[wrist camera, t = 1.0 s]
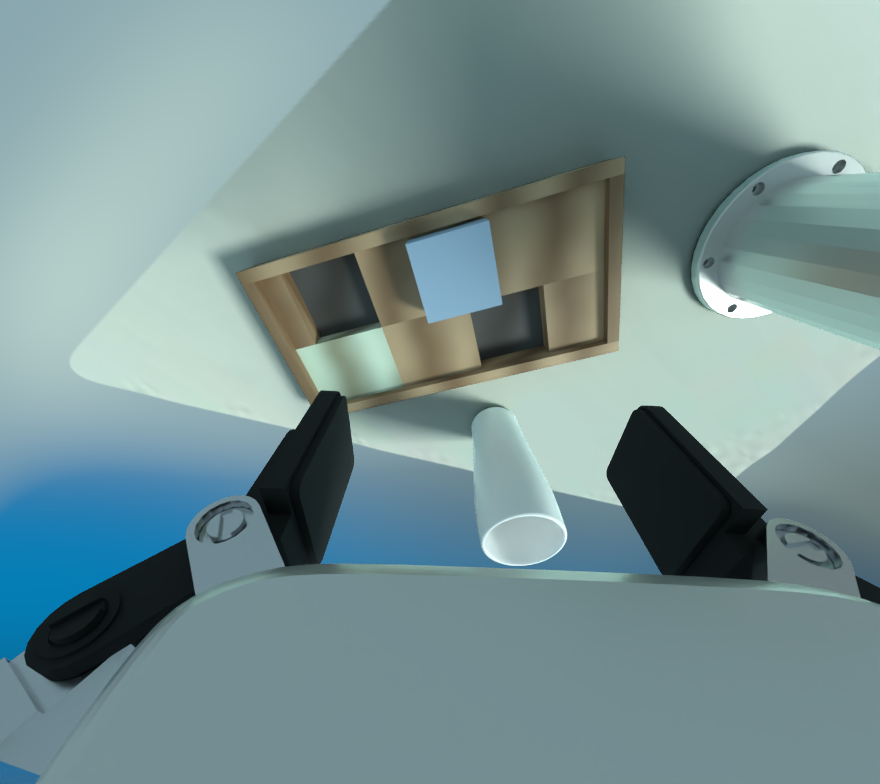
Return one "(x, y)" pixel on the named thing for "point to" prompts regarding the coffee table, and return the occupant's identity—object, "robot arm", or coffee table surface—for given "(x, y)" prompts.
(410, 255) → the block
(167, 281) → the coffee table surface
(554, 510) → the drinking glass
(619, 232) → the box
